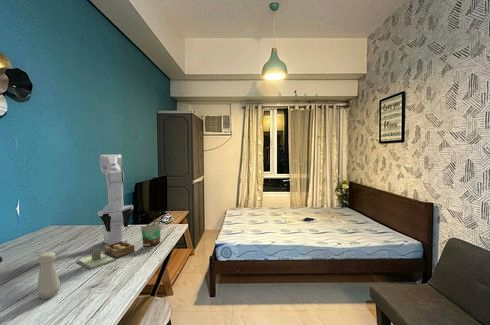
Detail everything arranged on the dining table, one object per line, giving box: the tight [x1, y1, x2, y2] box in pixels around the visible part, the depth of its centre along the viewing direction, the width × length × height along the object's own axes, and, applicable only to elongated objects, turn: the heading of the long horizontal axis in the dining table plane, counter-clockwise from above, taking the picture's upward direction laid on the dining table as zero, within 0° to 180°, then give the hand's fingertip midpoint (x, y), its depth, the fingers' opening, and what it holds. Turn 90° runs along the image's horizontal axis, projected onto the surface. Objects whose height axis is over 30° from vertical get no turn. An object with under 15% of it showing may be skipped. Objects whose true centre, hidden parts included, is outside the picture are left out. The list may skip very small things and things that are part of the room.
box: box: [103, 241, 135, 259], centre depth 112 cm, size 10×8×3 cm
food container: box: [140, 219, 163, 248], centre depth 122 cm, size 12×6×10 cm, turn 168°
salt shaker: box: [36, 251, 61, 300], centre depth 79 cm, size 6×6×13 cm
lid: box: [78, 248, 115, 268], centre depth 103 cm, size 11×9×4 cm
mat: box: [75, 258, 117, 271], centre depth 103 cm, size 12×10×1 cm
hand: (117, 229), depth 112 cm, fingers open, 7 cm apart
